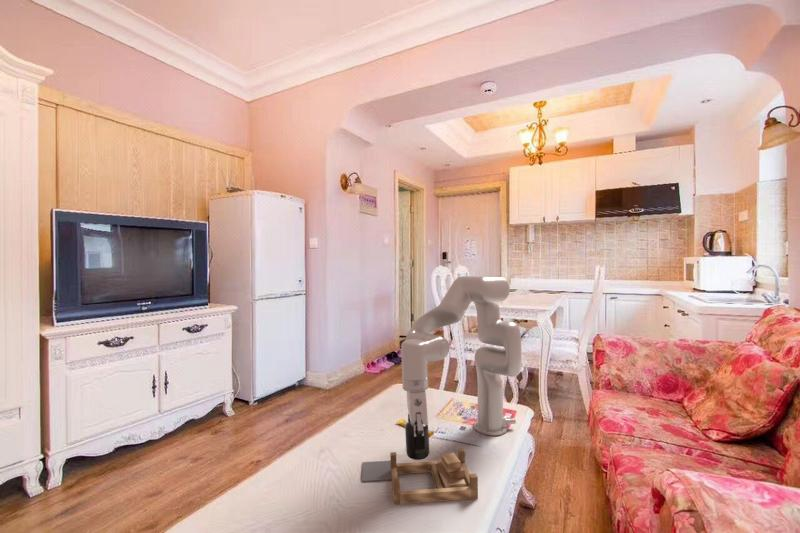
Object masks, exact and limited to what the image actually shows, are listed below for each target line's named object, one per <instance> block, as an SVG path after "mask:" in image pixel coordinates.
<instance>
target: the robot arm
mask: <svg viewBox="0 0 800 533" xmlns="http://www.w3.org/2000/svg"><path fill="white" fill-rule="evenodd" d="M510 288H511V287H510V283H509V281H508V280H507V278H505V277H501V276H500V277H499V276H470V275H465V276H464V275H463V276H458V277H456V278H455V279H454V281H453V282H452V284H451V285H450V287H449V289H448V290H447V292H446V293H445V295H444V297H443V298H442V300H441V302H440V303H439V305H437V306H436V307H434V308H432V309H430V310H429V311H427V312H426V313H424V314H422V315H421V316H420V317H418V319H417V320H415V322H414V323H413V324H412V326H411V327H410V329H409V331H408V333H407V335H406V336H405V339H404V341H402V343H401V346H400V354H401V355H400V356H401V377H402V378H401V381H402V383H401V384H402V389H403V390H404V391H406V402H407V403H406V404H407V412H408V413H407V414H409V418H410V422H411V425H412V426H413V429H414V435H413V448H414V450H420V449H425V439H424V430H423V424H424V425H426V426H427V425H428V426H429V419H428V418H429V417H428V403H427V393H426V391H427V390H428V389H429V371H428V370H429V368H428V367H429V366H428V364H429V363H433V362H440V361H442V360H444V359H445V358H446V357H447V356H448V355H449V353H450V342H449V341H448V339H447V338H445V337H444V336H441V335H436V334H432V333H431V332H433V331H434V330H436V329H440V328H443V327H446V326H451V325H453V324H457V323H459V322H460V321H462V318H463V317H464V315H465V314H466V311H467V309H468V308H469V306H470V305H471V303H472V302H473V303H474V306H475V308H476V323H477V324H476V325H477V338H478V340H479V342H481V343H483V344H486V345H489V346H485V345H484V346H480V347H479V348H477V349H476V351H475V354H474V364H475V369H476V377H477V378H476V379H477V380H476V381H477V420H475V421H474V423H473V428H474V429H475V431H477V432H478V433H480V432H481V433H480V434H482V433H483V434H482V435H485V436H501V435H505V434H506V433H507V431H508V425H514V424H516V423H517V420H516V418H515V417H514V418H510V416H509V415H508V416H504V385H503V380H502V377H501V375H502V376H505V377H511V378H514V377H515V378H516V377H518V376H519V375H520V374H521V373H520V372H521V370H522V366H523V365H522V363H523V361H522V360H523V359H522V357H523V356H522V336H521V334H522V333H521V329H520V328H519V326H518V324H517V323H515V322H512V321H508V320H502V319H501V316H500V314H501V313H500V306H499V302H503V301H505V300H507V298H508V297H509V295H510V292H511V290H510ZM490 345H491V346H490ZM494 346H498V347H494ZM500 347H503V348H500ZM415 422H417V424H416V425H415ZM416 427H417V430H416Z"/></svg>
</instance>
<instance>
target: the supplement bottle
mask: <svg viewBox="0 0 800 533" xmlns="http://www.w3.org/2000/svg"><path fill="white" fill-rule="evenodd" d="M407 421H408V422H407V424H406V426H405V427H404V428H405V430H404V431H405V450H406V456H407V457H408V458H409V459H411V460H415V461H421V460H424V459H426V458H428V456H429V454H430V437H429V432H428V430H429V424H428V425H427V426H426V425H424V424H423V430H424V439H425V449H420V450H414V448H413V435H414V429H413V426H412V425H411V422H410V418H409V413H407ZM416 424H417V422H415V425H416ZM416 430H417V427H416Z"/></svg>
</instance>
